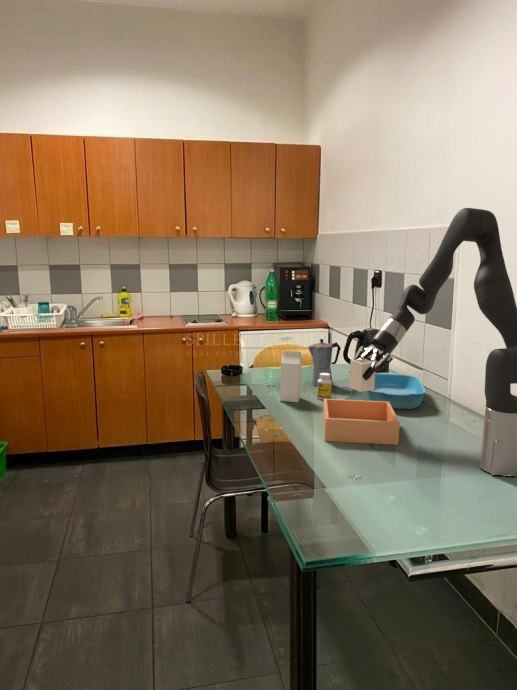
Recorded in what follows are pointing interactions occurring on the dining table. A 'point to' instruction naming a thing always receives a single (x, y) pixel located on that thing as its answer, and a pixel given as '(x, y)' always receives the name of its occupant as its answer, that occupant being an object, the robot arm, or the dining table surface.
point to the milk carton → (290, 376)
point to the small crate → (360, 375)
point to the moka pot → (322, 359)
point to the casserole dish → (397, 390)
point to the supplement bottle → (324, 386)
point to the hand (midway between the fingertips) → (357, 376)
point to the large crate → (360, 421)
